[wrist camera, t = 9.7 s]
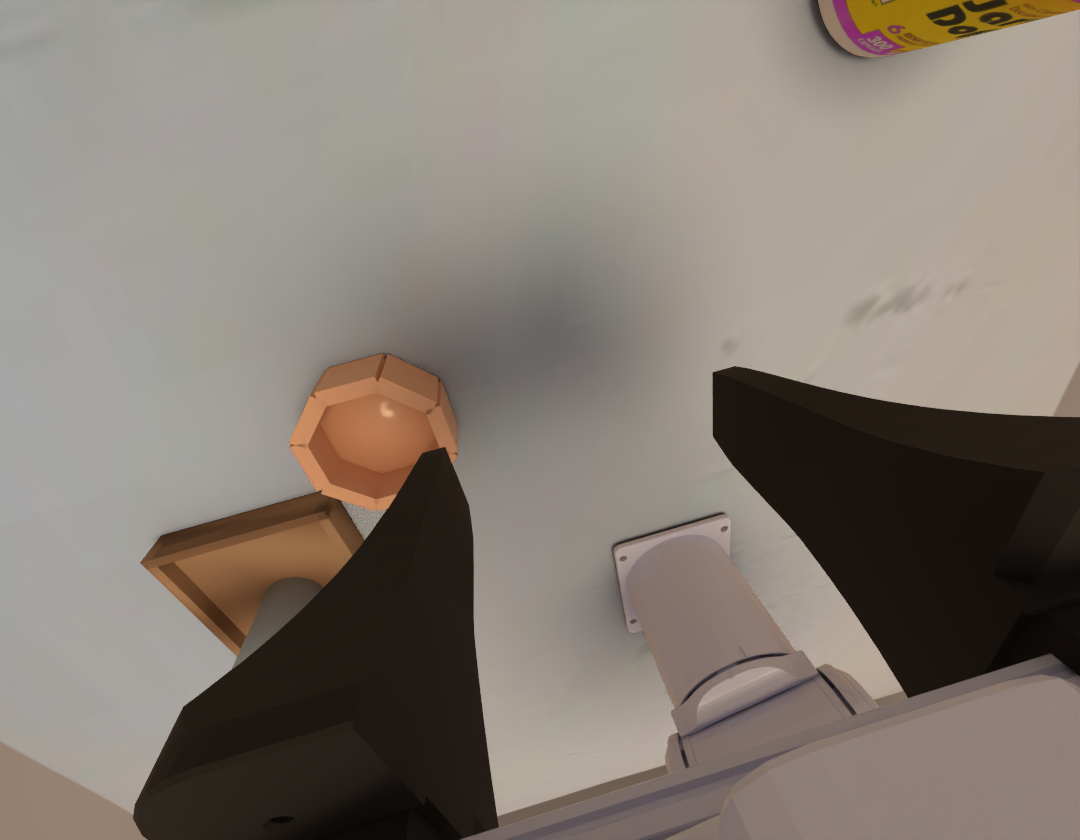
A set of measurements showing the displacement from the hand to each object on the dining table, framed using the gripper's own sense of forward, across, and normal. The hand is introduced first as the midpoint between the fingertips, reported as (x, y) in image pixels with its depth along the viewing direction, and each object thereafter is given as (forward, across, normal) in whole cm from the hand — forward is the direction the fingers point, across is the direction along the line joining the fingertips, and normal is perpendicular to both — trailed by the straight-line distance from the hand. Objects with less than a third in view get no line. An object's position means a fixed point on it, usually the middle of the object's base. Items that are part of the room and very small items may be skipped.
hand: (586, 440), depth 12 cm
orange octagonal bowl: (+10, +8, +3) cm, 13 cm away
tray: (+10, +16, +12) cm, 23 cm away
